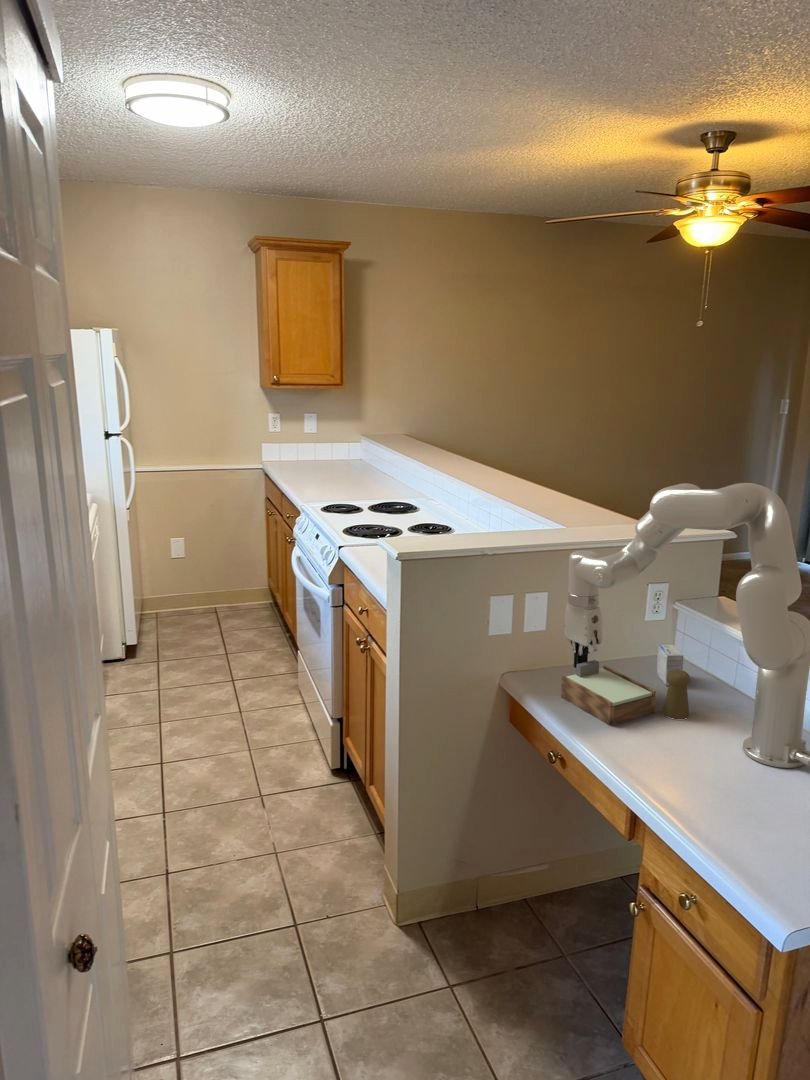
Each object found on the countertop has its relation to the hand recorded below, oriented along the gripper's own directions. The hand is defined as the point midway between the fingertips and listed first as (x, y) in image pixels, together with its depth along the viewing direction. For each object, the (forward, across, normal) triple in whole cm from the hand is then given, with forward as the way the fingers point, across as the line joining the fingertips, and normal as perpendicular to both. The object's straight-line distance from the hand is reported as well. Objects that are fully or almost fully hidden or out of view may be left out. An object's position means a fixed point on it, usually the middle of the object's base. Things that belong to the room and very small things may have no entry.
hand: (580, 667), depth 195 cm
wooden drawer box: (+6, -10, 0) cm, 12 cm away
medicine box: (+6, -6, -25) cm, 27 cm away
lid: (+2, -10, 0) cm, 10 cm away
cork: (+6, -22, -11) cm, 26 cm away
